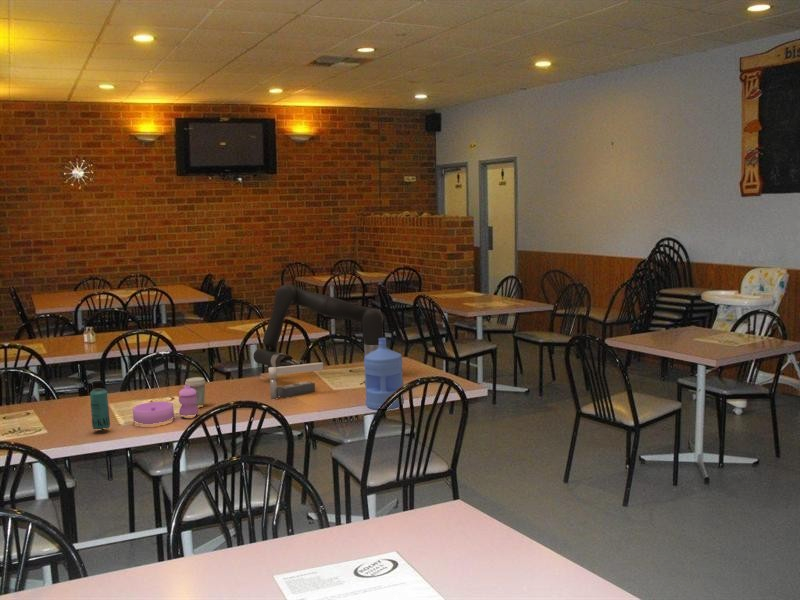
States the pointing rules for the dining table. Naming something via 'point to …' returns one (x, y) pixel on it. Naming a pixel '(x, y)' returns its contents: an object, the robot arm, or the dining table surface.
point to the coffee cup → (197, 388)
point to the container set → (166, 408)
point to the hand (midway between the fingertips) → (301, 367)
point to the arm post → (273, 388)
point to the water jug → (382, 376)
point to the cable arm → (294, 369)
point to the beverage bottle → (99, 406)
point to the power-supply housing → (296, 389)
